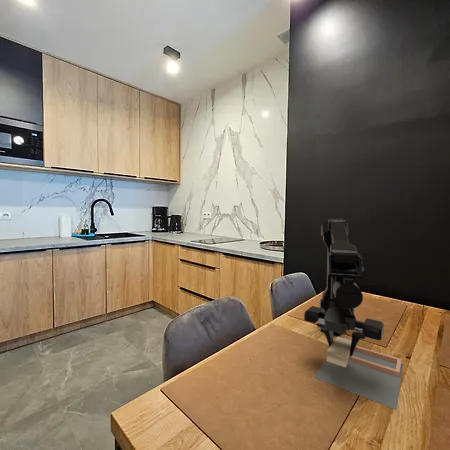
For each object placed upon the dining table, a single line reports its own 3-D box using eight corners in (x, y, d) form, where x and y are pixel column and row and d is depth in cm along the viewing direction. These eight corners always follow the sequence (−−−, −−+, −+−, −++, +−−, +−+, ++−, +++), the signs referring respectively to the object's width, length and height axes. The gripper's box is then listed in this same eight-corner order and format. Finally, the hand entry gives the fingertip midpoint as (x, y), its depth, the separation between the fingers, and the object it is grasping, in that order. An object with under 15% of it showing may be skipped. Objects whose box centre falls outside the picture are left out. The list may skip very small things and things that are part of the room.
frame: (344, 359, 75) (344, 355, 75) (350, 348, 81) (351, 344, 81) (399, 377, 67) (399, 372, 66) (401, 363, 73) (401, 359, 73)
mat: (313, 378, 67) (313, 377, 67) (336, 344, 84) (336, 343, 84) (396, 411, 56) (396, 409, 56) (403, 364, 73) (403, 363, 73)
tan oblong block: (345, 367, 63) (346, 357, 63) (326, 360, 66) (326, 351, 66) (354, 350, 71) (354, 341, 71) (337, 345, 74) (337, 336, 74)
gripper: (296, 295, 67) (295, 353, 68) (378, 313, 56) (376, 382, 56) (311, 286, 76) (310, 337, 77) (385, 299, 64) (383, 359, 65)
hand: (341, 352), depth 68 cm, fingers closed on tan oblong block, 5 cm apart
